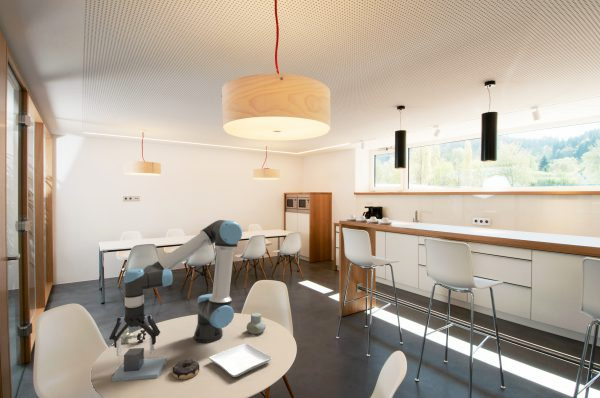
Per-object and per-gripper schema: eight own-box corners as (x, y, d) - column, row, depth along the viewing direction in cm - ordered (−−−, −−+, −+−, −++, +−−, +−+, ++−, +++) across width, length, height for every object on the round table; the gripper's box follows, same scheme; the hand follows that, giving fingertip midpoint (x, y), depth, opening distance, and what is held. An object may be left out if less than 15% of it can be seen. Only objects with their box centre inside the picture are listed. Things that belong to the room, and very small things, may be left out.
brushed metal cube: (143, 363, 137) (143, 347, 138) (138, 370, 131) (138, 354, 132) (129, 364, 137) (129, 348, 137) (123, 371, 131) (123, 355, 131)
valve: (116, 344, 159) (138, 345, 158) (117, 331, 160) (138, 332, 158) (125, 339, 166) (146, 340, 165) (125, 326, 166) (146, 327, 165)
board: (167, 360, 143) (167, 346, 143) (157, 377, 129) (157, 362, 129) (126, 363, 140) (126, 349, 140) (111, 381, 126) (111, 365, 126)
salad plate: (273, 364, 141) (273, 356, 141) (233, 383, 125) (233, 375, 125) (246, 348, 155) (246, 342, 155) (207, 364, 140) (207, 356, 140)
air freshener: (267, 330, 178) (267, 313, 178) (262, 336, 170) (262, 318, 170) (250, 328, 181) (250, 311, 181) (244, 333, 173) (244, 316, 173)
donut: (190, 363, 141) (190, 355, 141) (205, 372, 133) (205, 363, 133) (166, 374, 132) (167, 365, 132) (181, 384, 124) (181, 374, 125)
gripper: (166, 300, 140) (167, 346, 140) (108, 303, 136) (109, 351, 136) (161, 305, 132) (162, 354, 132) (99, 309, 129) (100, 360, 129)
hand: (135, 353), depth 134 cm, fingers open, 13 cm apart
